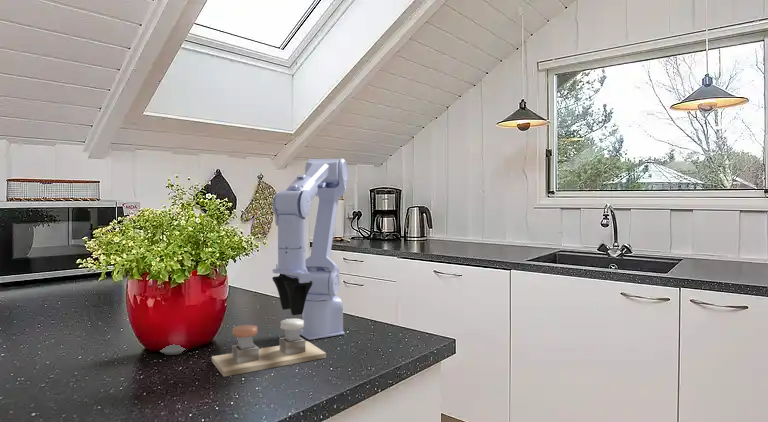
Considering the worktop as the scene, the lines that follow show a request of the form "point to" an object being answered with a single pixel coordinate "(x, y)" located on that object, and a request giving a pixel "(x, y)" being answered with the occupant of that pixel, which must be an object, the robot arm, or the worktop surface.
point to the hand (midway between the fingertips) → (292, 311)
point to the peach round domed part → (245, 335)
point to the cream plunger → (292, 328)
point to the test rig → (266, 357)
